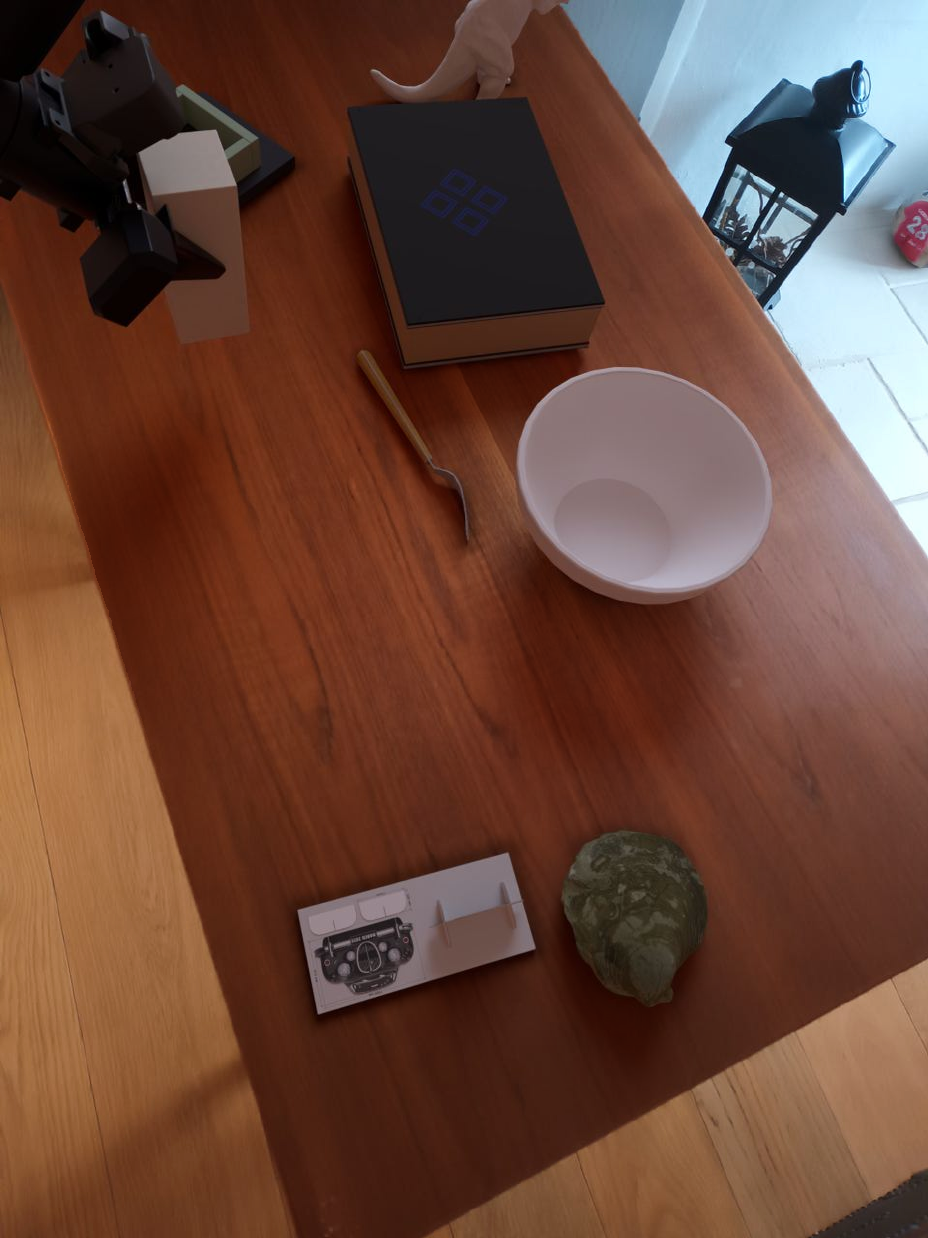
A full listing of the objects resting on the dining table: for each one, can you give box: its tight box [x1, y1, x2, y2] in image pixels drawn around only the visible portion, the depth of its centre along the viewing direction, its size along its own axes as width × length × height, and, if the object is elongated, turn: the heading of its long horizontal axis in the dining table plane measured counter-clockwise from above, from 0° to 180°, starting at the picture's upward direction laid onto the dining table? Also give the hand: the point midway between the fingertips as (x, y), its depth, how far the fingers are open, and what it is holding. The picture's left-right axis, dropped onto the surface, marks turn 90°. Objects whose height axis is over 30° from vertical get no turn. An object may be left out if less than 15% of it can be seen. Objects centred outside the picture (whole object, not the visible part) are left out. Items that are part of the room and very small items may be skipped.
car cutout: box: [296, 852, 537, 1015], centre depth 57 cm, size 15×7×4 cm, turn 106°
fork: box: [356, 349, 469, 542], centre depth 73 cm, size 2×2×20 cm
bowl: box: [514, 366, 774, 605], centre depth 69 cm, size 20×20×10 cm
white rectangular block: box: [136, 130, 251, 345], centre depth 62 cm, size 5×5×14 cm
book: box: [346, 96, 606, 371], centre depth 79 cm, size 17×25×7 cm
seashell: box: [560, 829, 709, 1008], centre depth 60 cm, size 10×7×10 cm
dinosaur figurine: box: [369, 0, 570, 104], centre depth 84 cm, size 20×10×15 cm, turn 108°
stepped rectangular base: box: [132, 84, 296, 212], centre depth 80 cm, size 16×12×4 cm
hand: (213, 243), depth 63 cm, fingers closed on white rectangular block, 5 cm apart
